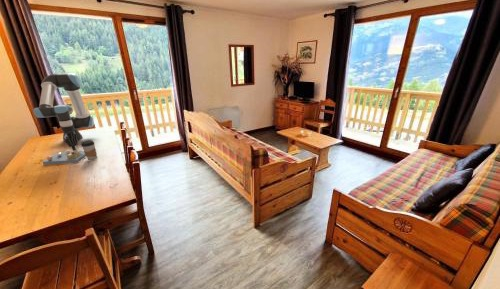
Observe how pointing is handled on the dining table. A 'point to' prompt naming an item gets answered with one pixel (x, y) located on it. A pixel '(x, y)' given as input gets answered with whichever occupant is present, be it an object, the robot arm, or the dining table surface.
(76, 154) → the brass cover
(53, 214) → the dining table surface
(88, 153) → the coffee cup
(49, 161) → the board
